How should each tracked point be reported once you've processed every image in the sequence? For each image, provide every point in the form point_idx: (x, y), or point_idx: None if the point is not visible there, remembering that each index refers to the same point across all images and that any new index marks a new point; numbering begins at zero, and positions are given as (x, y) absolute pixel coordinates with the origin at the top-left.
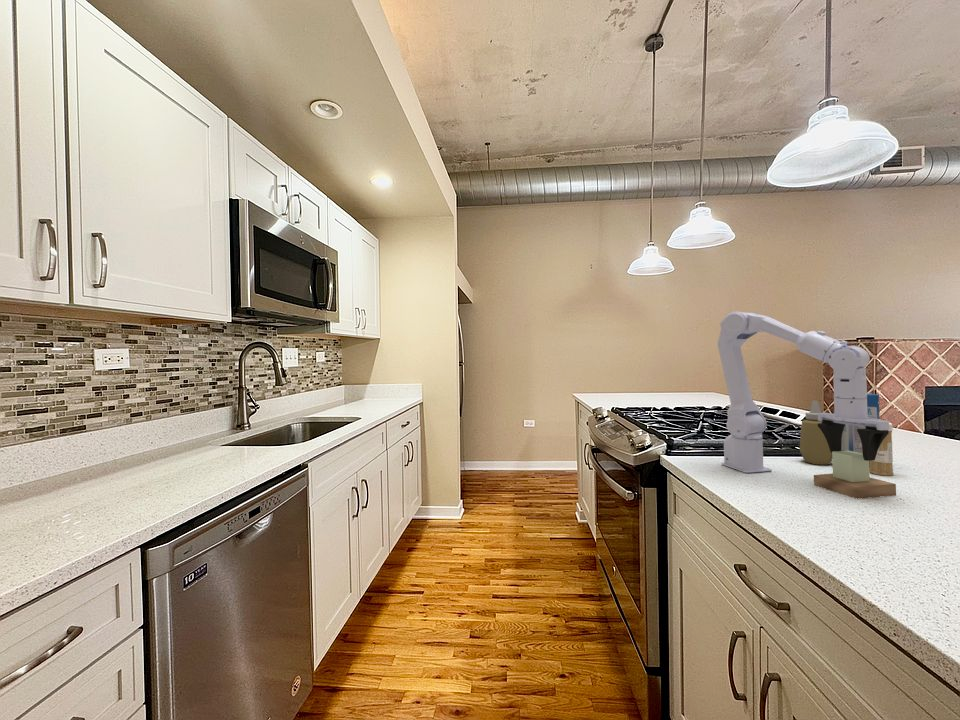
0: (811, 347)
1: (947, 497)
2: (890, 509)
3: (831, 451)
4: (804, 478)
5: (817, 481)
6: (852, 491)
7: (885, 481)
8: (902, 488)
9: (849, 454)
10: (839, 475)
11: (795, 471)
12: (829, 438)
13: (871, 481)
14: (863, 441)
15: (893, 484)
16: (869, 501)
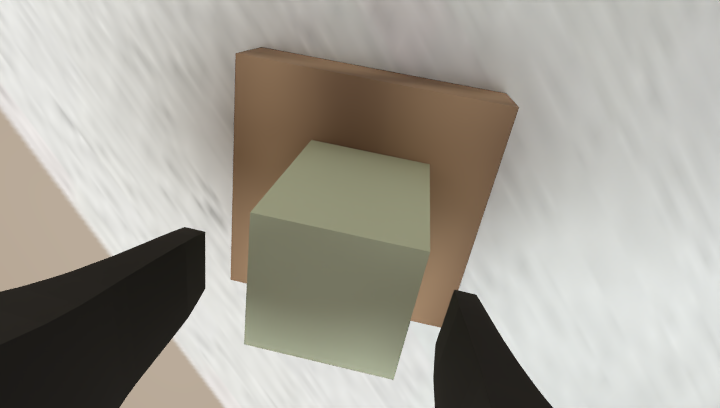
0: None
1: (192, 352)
2: (113, 18)
3: (469, 297)
4: (608, 181)
5: (486, 94)
6: (273, 55)
7: None
8: None
9: (293, 249)
10: (385, 162)
11: (711, 277)
12: (486, 381)
13: None
14: (48, 303)
15: (231, 268)
16: (218, 59)
